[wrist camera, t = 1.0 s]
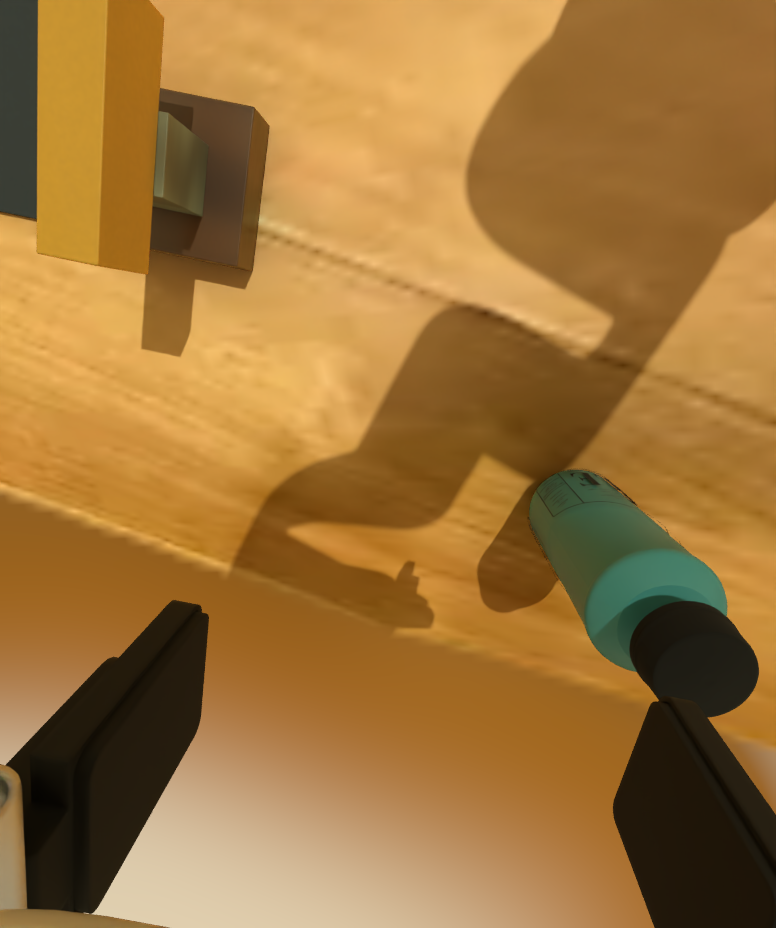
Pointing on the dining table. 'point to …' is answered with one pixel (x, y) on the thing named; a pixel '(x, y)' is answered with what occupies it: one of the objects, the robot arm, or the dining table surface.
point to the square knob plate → (207, 179)
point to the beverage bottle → (642, 593)
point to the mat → (18, 106)
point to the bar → (97, 130)
